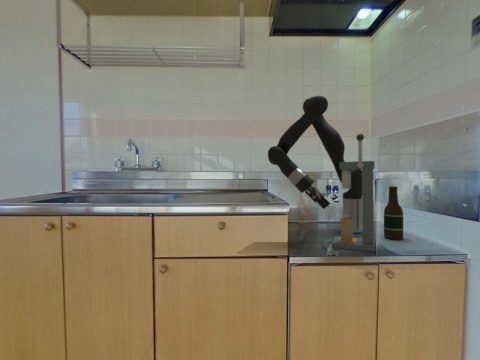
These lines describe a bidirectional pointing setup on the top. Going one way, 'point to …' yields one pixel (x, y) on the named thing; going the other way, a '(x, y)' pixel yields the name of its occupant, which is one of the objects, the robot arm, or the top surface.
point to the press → (367, 202)
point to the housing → (346, 228)
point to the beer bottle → (393, 217)
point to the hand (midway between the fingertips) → (327, 206)
